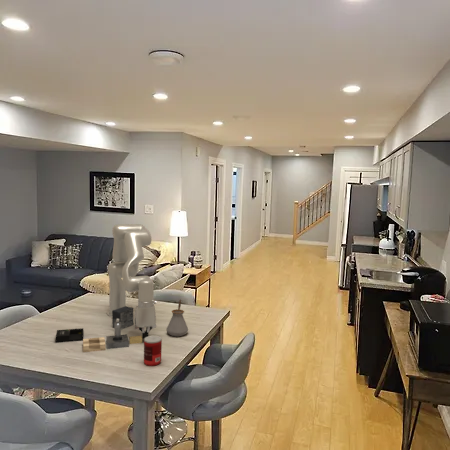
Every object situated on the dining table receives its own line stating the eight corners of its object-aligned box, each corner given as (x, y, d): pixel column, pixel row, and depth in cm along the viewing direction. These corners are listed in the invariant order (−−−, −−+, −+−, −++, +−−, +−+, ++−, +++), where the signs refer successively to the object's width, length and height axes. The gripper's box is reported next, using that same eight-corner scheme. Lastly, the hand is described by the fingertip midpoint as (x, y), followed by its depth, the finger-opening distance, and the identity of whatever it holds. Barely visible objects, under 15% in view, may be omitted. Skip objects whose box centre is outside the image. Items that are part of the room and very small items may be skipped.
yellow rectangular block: (129, 342, 206) (129, 336, 205) (141, 341, 208) (141, 335, 207) (129, 344, 203) (129, 338, 203) (142, 343, 205) (142, 337, 205)
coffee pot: (187, 338, 213) (187, 310, 212) (164, 338, 213) (165, 310, 212) (190, 325, 235) (190, 299, 233) (170, 324, 234) (170, 298, 233)
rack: (83, 344, 201) (83, 338, 201) (104, 342, 204) (104, 337, 204) (83, 352, 192) (83, 346, 191) (105, 350, 195) (105, 344, 195)
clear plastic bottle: (114, 343, 203) (114, 318, 202) (120, 343, 204) (120, 317, 203) (114, 346, 201) (114, 320, 199) (120, 345, 202) (121, 319, 200)
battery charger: (55, 344, 201) (55, 336, 201) (56, 337, 210) (56, 330, 210) (83, 342, 205) (83, 334, 205) (83, 335, 214) (83, 328, 214)
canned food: (162, 358, 188) (162, 335, 187) (160, 366, 180) (160, 342, 179) (145, 358, 187) (145, 335, 186) (142, 366, 179) (142, 341, 178)
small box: (125, 323, 234) (125, 305, 233) (134, 325, 231) (134, 307, 230) (111, 328, 225) (111, 310, 224) (120, 331, 221) (120, 312, 221)
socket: (106, 341, 206) (106, 336, 205) (126, 340, 209) (126, 334, 209) (107, 349, 196) (107, 343, 196) (129, 347, 199) (129, 341, 199)
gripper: (159, 301, 211) (158, 335, 213) (129, 303, 206) (129, 338, 208) (162, 305, 204) (161, 340, 206) (131, 307, 199) (131, 343, 201)
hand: (145, 339), depth 207 cm, fingers closed
